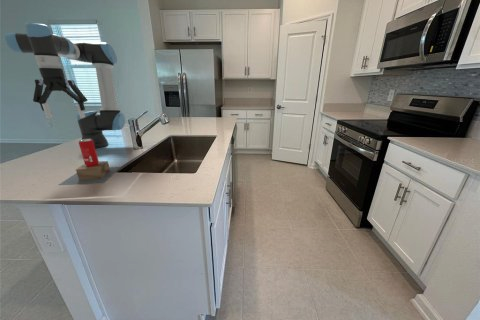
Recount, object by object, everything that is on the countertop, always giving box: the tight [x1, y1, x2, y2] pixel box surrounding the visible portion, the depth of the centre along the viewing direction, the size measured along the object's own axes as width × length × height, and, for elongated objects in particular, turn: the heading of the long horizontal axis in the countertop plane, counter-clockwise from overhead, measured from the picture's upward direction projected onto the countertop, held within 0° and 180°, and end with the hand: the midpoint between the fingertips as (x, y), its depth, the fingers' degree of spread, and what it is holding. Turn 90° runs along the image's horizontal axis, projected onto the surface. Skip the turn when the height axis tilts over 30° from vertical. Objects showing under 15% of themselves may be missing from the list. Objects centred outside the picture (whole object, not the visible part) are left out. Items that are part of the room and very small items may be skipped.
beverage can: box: [78, 138, 99, 167], centre depth 90 cm, size 5×5×12 cm
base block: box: [75, 160, 110, 180], centre depth 93 cm, size 9×9×5 cm
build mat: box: [58, 166, 122, 186], centre depth 94 cm, size 18×18×1 cm
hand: (66, 117), depth 92 cm, fingers open, 13 cm apart
